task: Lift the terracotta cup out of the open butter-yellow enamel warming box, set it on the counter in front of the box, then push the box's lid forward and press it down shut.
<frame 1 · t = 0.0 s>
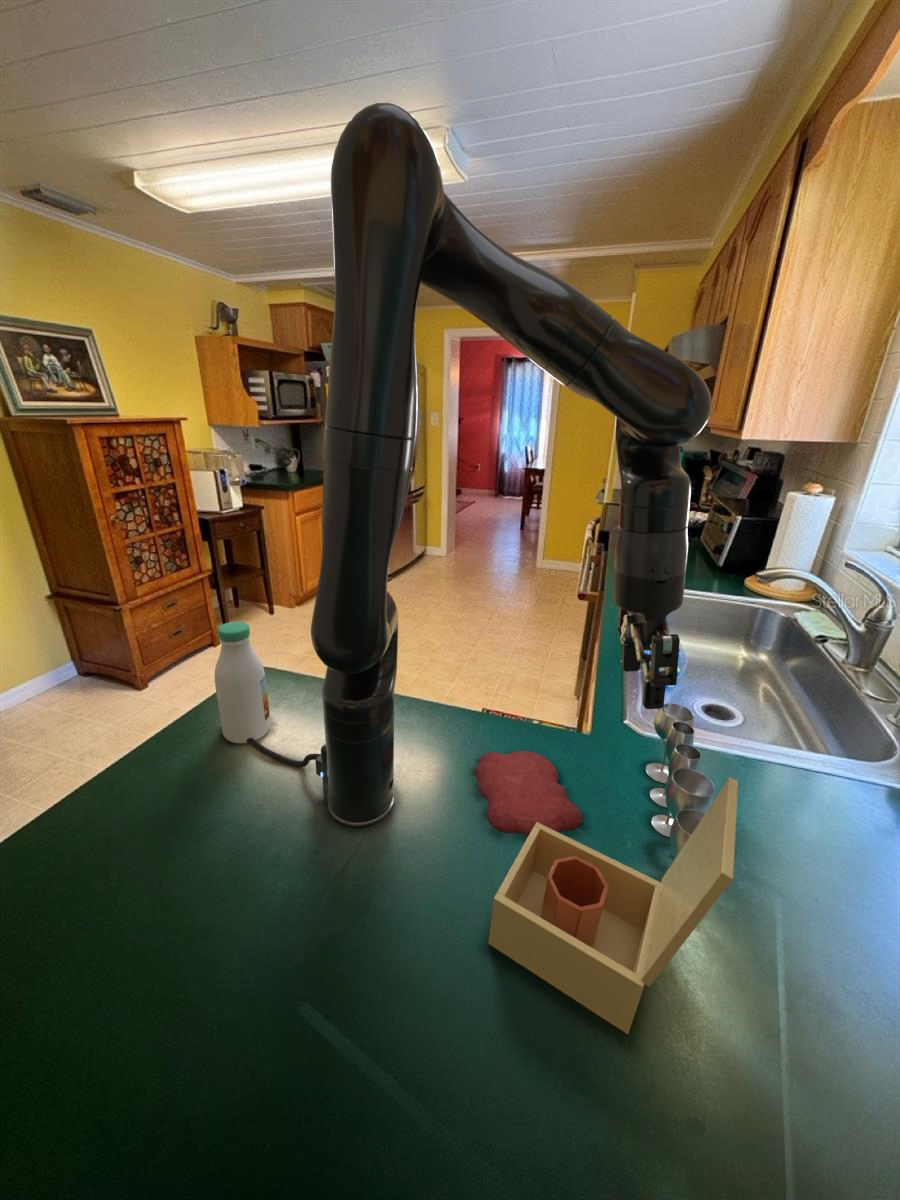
hand: (641, 687, 59), 22 cm above the kitchen counter, tool pointing down, fingers open, 8 cm apart
cup: (567, 932, 52), point 1 cm above the kitchen counter, touching warmer
milk bottle: (247, 731, 82), on the kitchen counter
red lobed pad: (522, 794, 72), on the kitchen counter
goblet set: (665, 825, 67), on the kitchen counter
warmer lid: (690, 879, 42), point 16 cm above the kitchen counter, hinge at 100.0°
warmer: (570, 939, 52), on the kitchen counter
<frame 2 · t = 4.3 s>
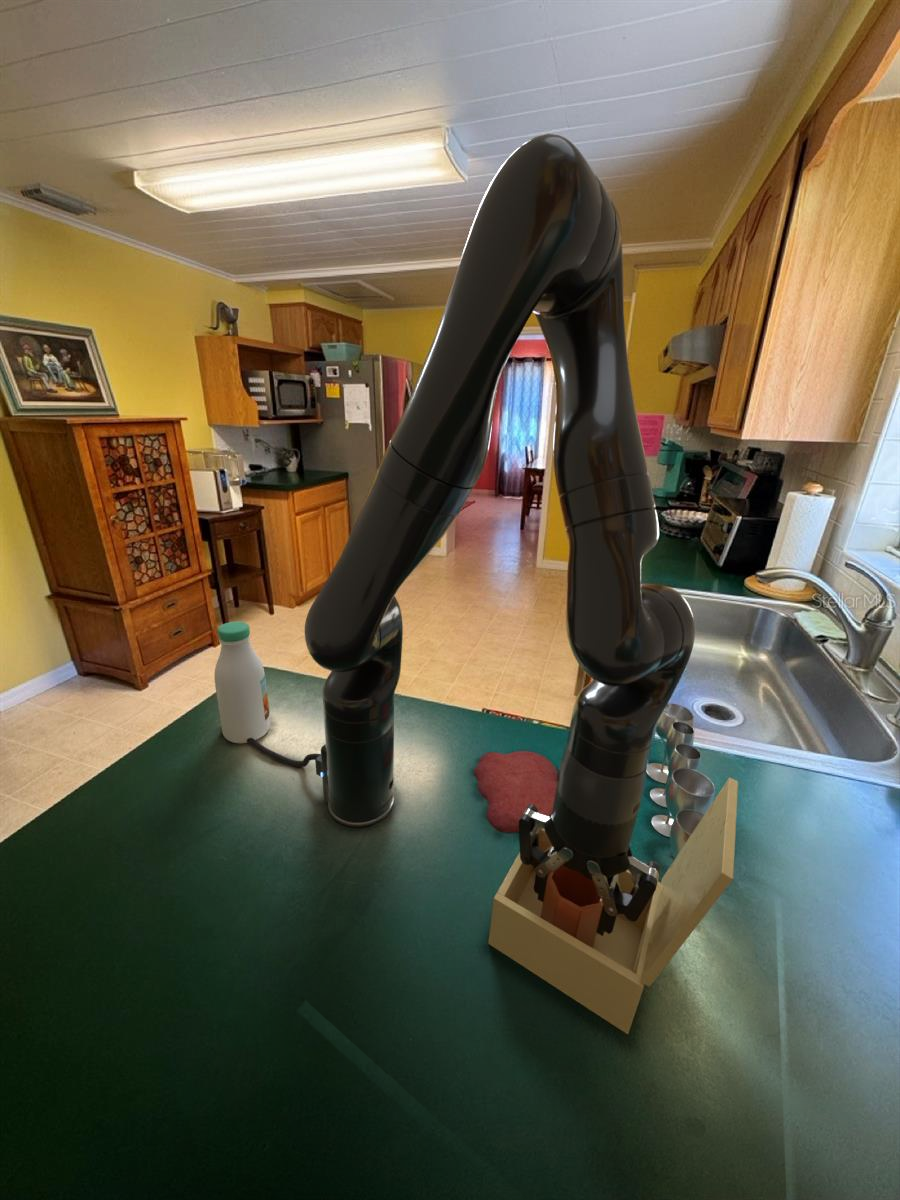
hand: (571, 910, 51), 4 cm above the kitchen counter, tool pointing down, fingers closed on cup, 6 cm apart
cup: (567, 932, 52), point 1 cm above the kitchen counter, touching gripper, warmer
everything else where it was.
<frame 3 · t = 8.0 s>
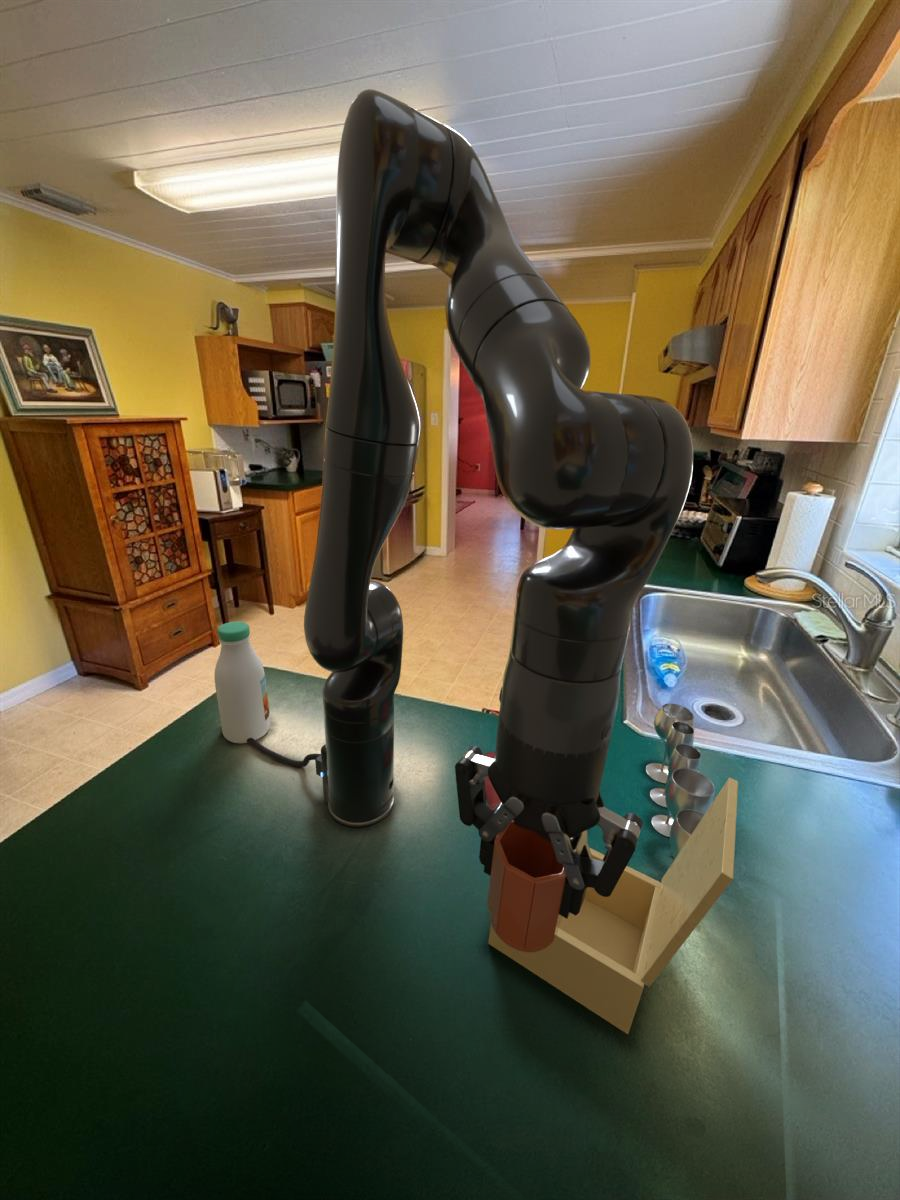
hand: (528, 885, 38), 18 cm above the kitchen counter, tool pointing down, fingers closed on cup, 6 cm apart
cup: (523, 915, 39), point 14 cm above the kitchen counter, touching gripper
everything else where it was.
when the fingers open (4 cm above the kitchen counter, at t = 11.7 s): cup stays where it is, on the kitchen counter.
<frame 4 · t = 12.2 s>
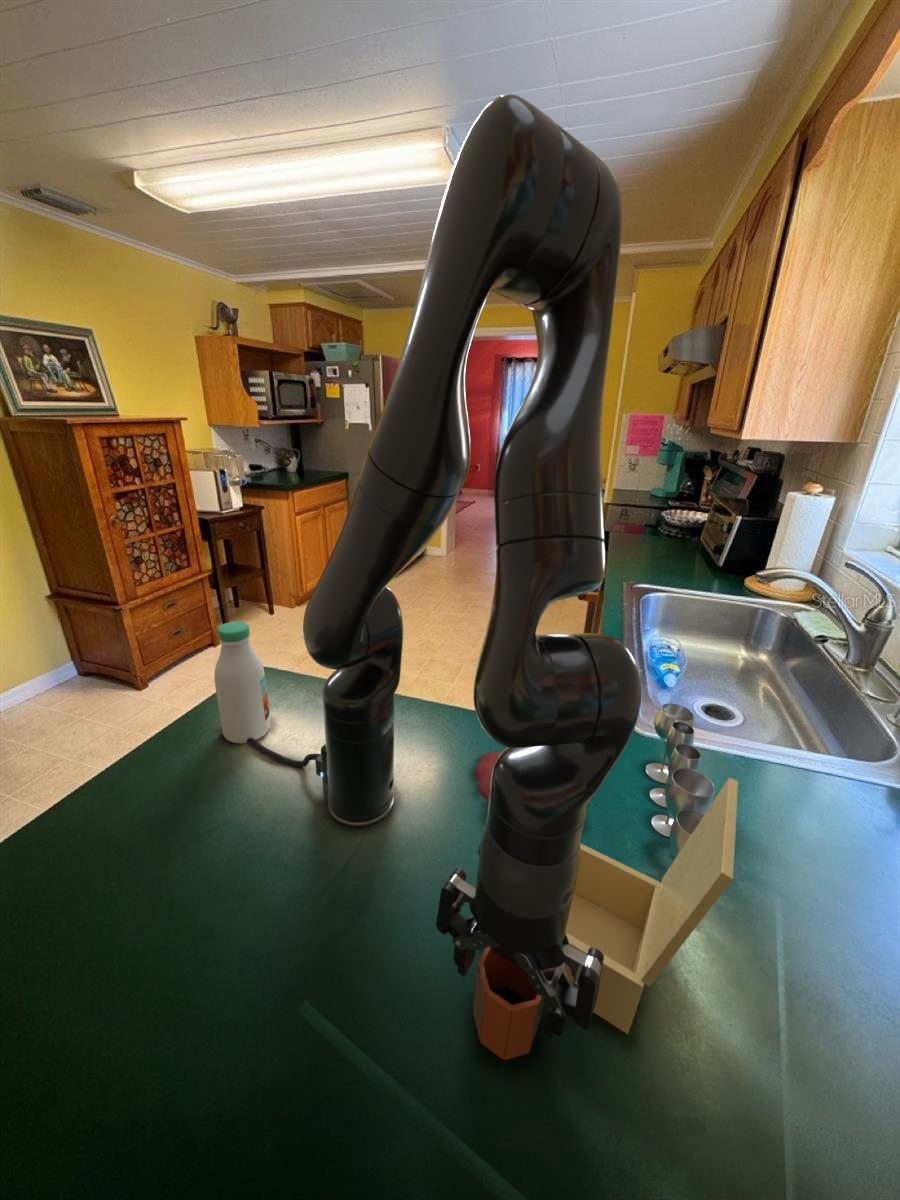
hand: (506, 994, 43), 4 cm above the kitchen counter, tool pointing down, fingers open, 8 cm apart
cup: (504, 1022, 45), on the kitchen counter
everything else where it was.
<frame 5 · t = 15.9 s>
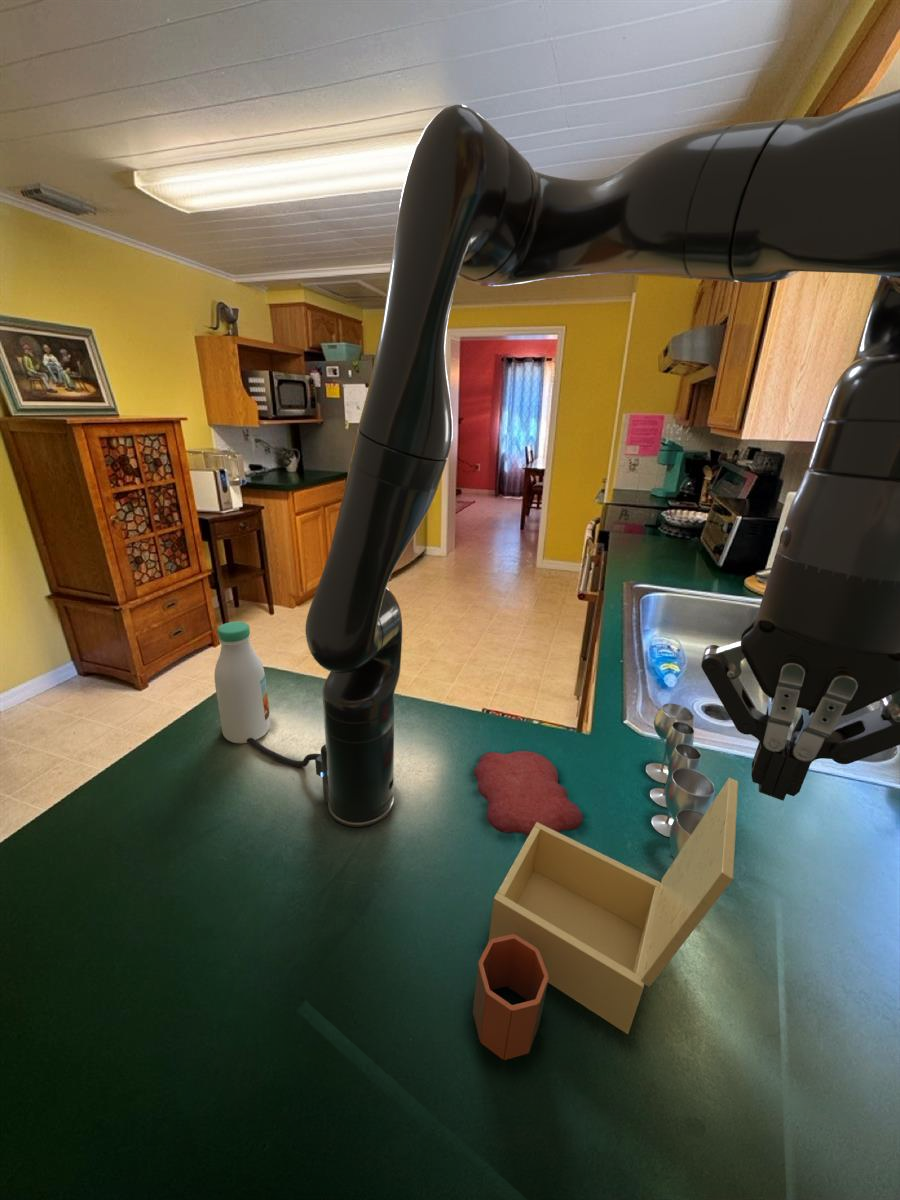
hand: (769, 789, 34), 30 cm above the kitchen counter, tool pointing down, fingers closed
nothing on the kitchen counter moved.
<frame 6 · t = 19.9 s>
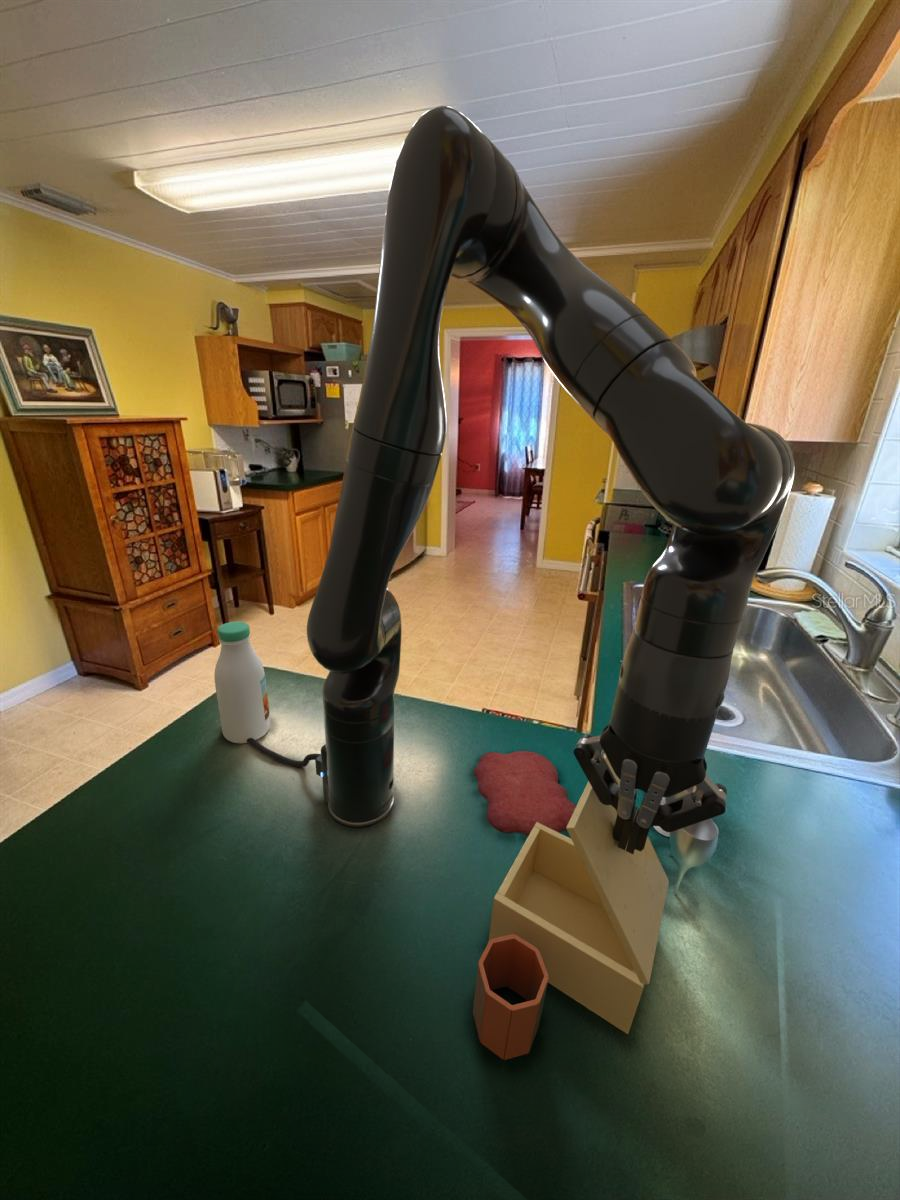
hand: (627, 844, 44), 16 cm above the kitchen counter, tool pointing down, fingers closed
warmer lid: (623, 857, 45), point 15 cm above the kitchen counter, hinge at 56.0°, touching gripper
everything else where it was.
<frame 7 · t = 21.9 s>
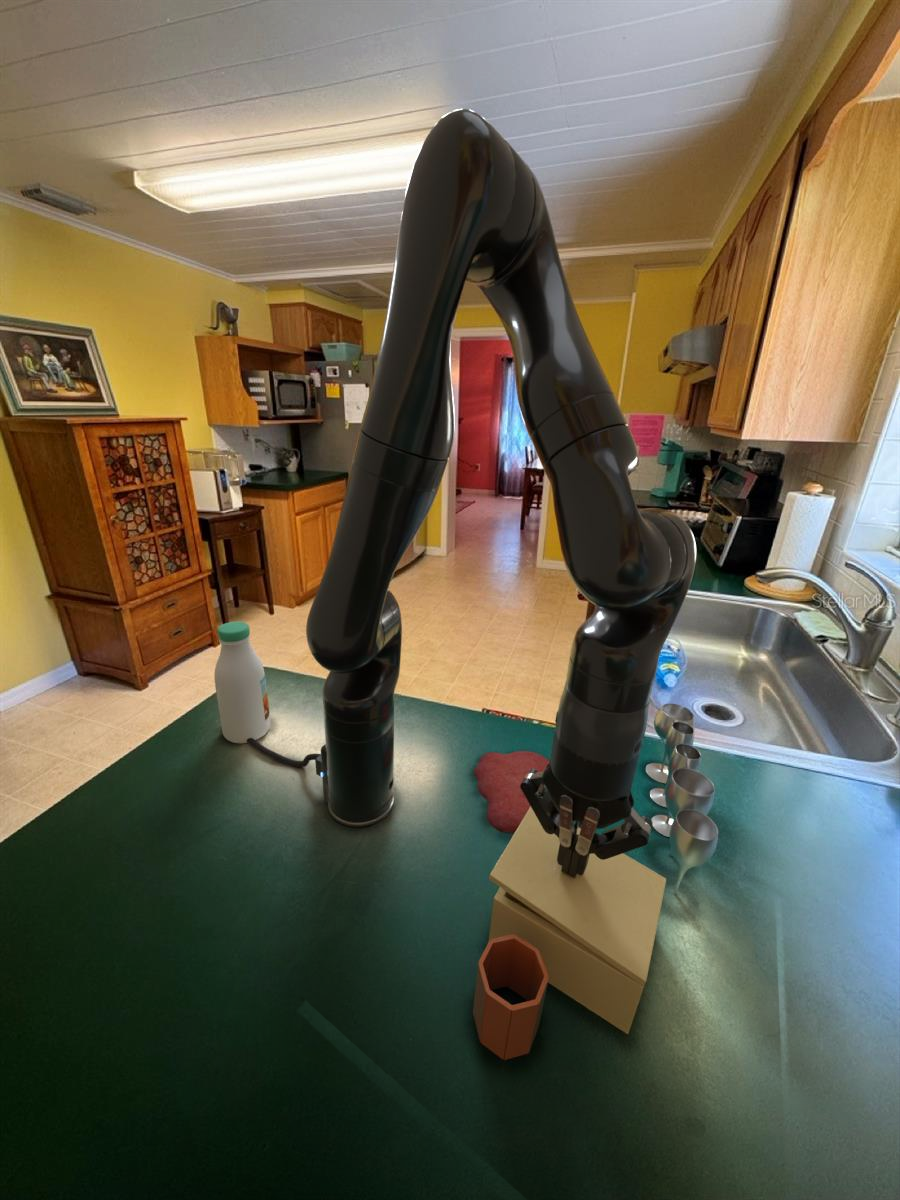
hand: (570, 868, 49), 10 cm above the kitchen counter, tool pointing down, fingers closed
warmer lid: (579, 879, 49), point 9 cm above the kitchen counter, hinge at 7.5°, touching gripper
everything else where it was.
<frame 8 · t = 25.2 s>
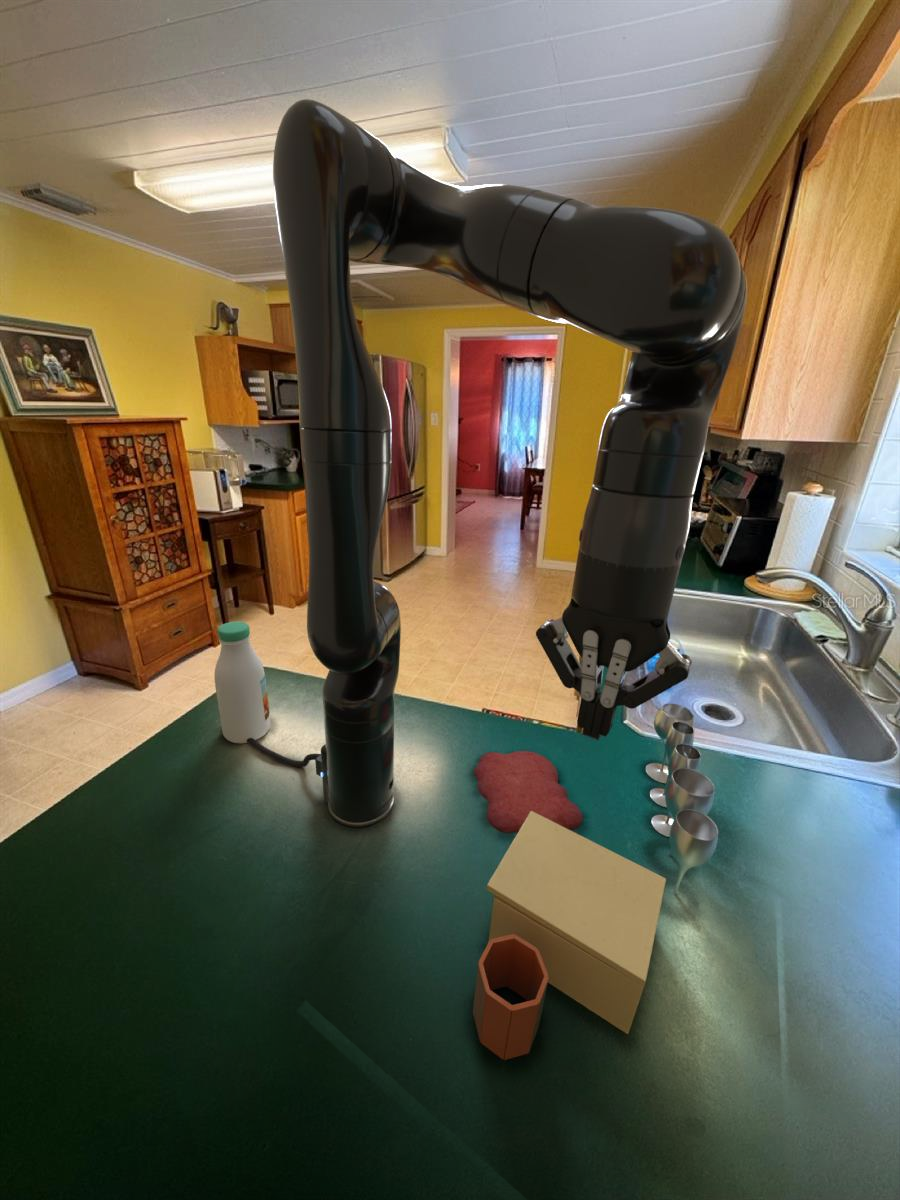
hand: (592, 732, 43), 27 cm above the kitchen counter, tool pointing down, fingers closed
warmer lid: (578, 884, 49), point 8 cm above the kitchen counter, hinge at 1.6°
everything else where it was.
at the end: cup inside the target area (0.4 cm from its centre), on the kitchen counter; cup tilted 0°; warmer lid at +2° (first picture: +100°) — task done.
